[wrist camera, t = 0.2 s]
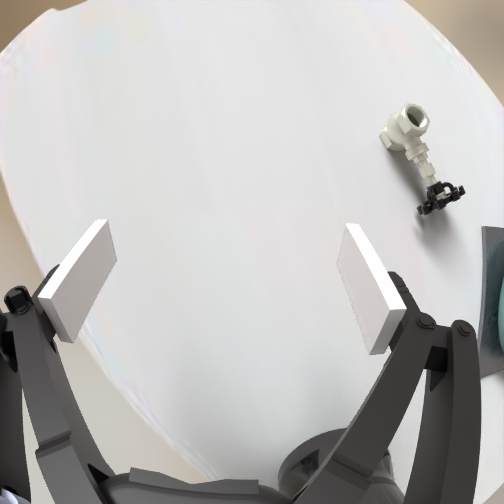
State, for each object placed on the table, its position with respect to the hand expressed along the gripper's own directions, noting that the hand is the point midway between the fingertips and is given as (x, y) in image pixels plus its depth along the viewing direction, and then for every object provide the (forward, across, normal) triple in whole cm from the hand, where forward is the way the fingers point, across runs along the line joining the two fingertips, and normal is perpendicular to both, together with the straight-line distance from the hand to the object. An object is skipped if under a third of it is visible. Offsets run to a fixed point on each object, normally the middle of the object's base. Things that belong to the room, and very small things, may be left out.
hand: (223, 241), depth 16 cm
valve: (+19, -21, 0) cm, 29 cm away
